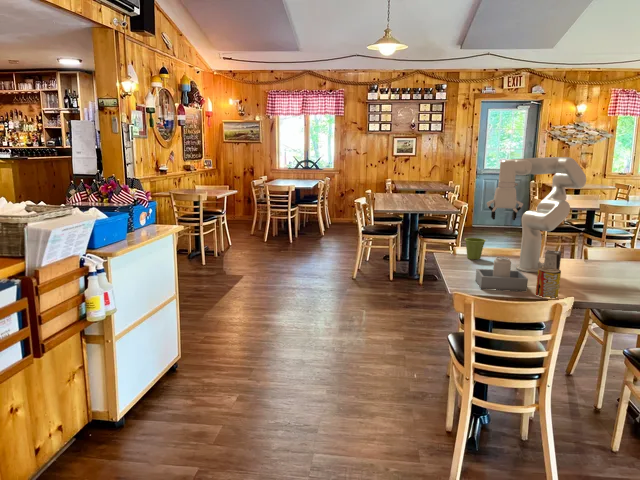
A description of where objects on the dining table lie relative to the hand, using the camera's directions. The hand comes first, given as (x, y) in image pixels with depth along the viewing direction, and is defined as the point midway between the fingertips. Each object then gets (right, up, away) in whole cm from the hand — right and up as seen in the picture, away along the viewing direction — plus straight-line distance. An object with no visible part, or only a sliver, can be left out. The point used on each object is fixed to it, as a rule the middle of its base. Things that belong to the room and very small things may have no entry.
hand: (503, 219), depth 235 cm
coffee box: (+17, -32, -12) cm, 38 cm away
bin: (-7, -32, -15) cm, 36 cm away
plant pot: (-3, -21, +38) cm, 43 cm away
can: (-7, -31, -15) cm, 35 cm away
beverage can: (+8, -35, -29) cm, 46 cm away
